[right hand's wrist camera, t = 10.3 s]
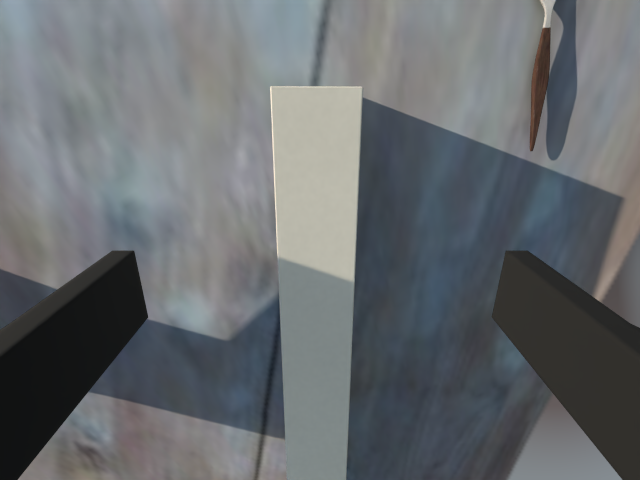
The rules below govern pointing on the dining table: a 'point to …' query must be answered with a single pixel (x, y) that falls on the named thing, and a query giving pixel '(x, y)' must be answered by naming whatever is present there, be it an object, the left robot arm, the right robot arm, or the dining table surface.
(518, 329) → the right robot arm
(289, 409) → the beam
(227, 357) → the dining table surface
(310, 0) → the dining table surface
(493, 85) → the dining table surface
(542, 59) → the fork
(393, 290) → the dining table surface
